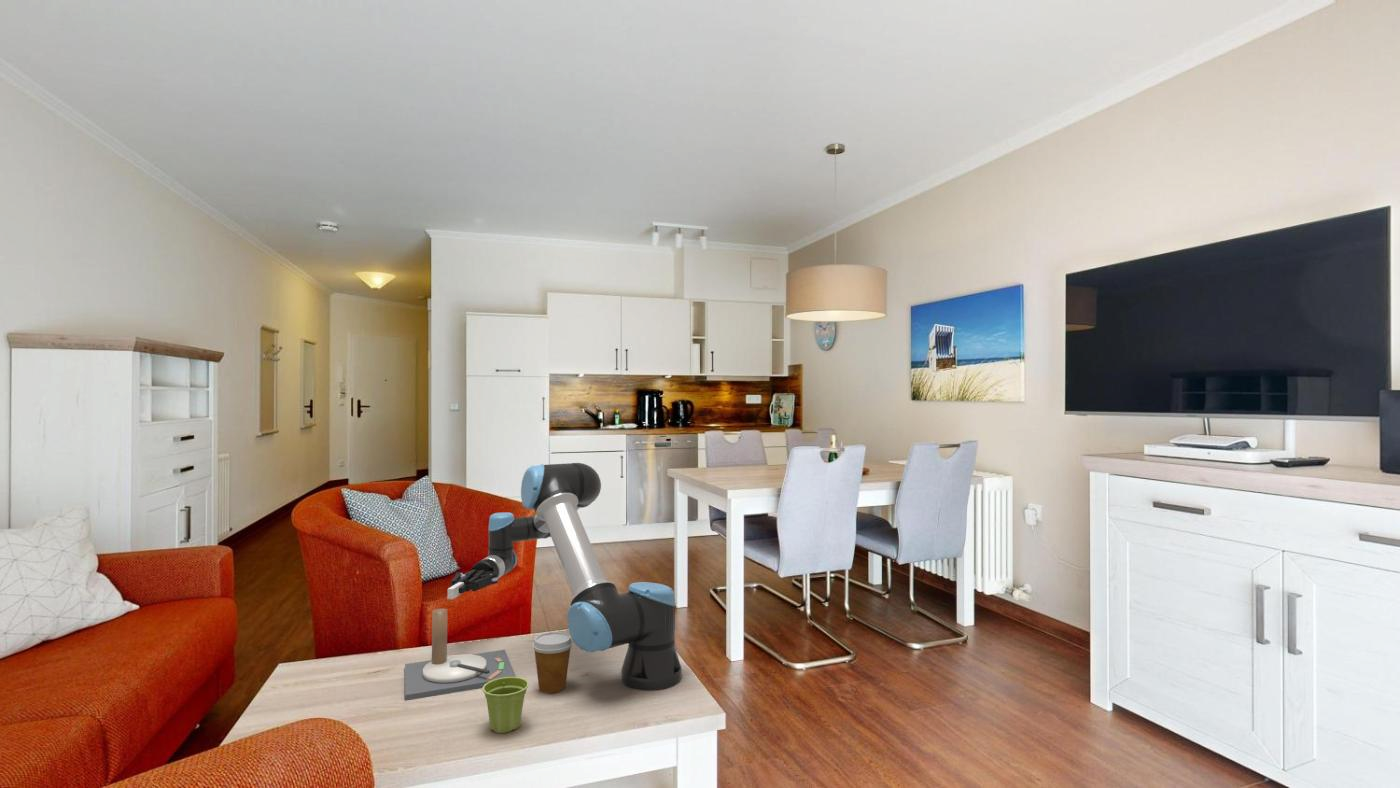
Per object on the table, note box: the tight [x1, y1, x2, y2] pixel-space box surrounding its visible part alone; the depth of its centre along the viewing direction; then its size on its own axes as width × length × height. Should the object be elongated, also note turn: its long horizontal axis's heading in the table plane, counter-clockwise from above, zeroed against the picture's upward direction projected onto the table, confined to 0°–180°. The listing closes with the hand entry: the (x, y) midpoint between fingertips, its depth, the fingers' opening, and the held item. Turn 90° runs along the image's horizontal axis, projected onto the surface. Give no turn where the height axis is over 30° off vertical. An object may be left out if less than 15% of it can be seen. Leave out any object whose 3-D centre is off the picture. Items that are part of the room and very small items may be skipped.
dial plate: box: [404, 649, 517, 701], centre depth 165 cm, size 20×25×2 cm
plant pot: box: [482, 676, 530, 734], centre depth 139 cm, size 9×9×9 cm
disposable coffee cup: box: [532, 631, 574, 694], centre depth 158 cm, size 10×10×12 cm
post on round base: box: [423, 607, 490, 683], centre depth 164 cm, size 16×15×14 cm
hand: (450, 594), depth 174 cm, fingers closed
